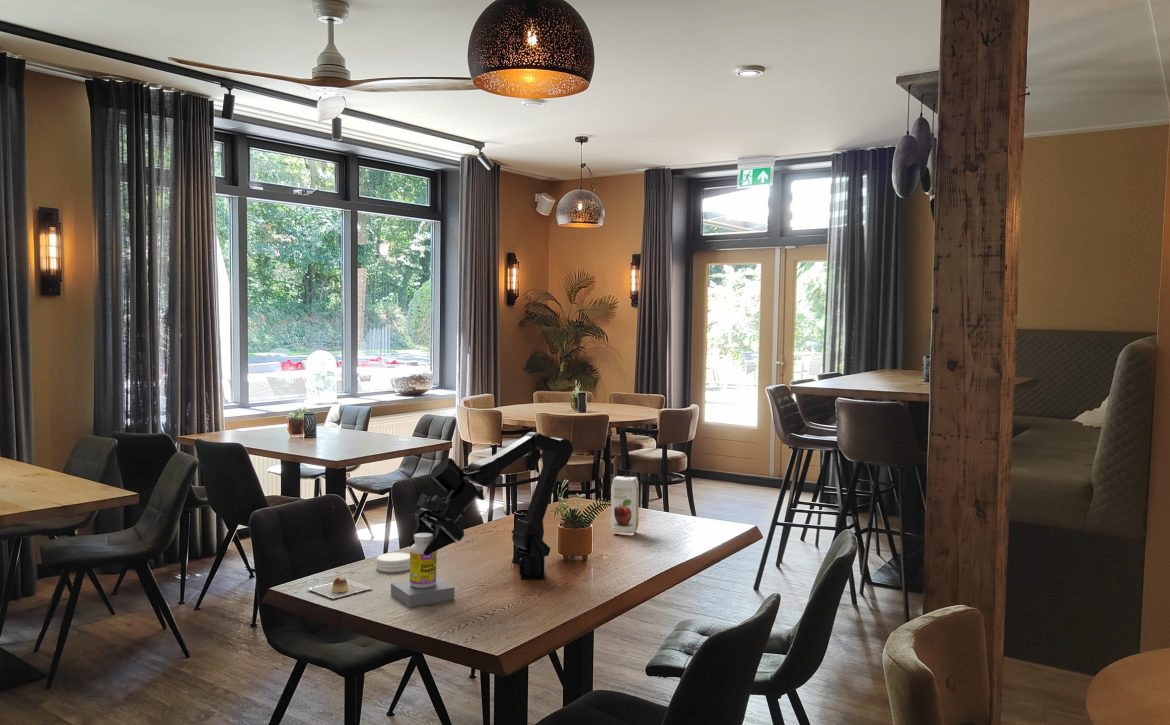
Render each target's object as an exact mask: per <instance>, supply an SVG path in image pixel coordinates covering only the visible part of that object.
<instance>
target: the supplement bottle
mask: <svg viewBox="0 0 1170 725" xmlns="http://www.w3.org/2000/svg"><path fill="white" fill-rule="evenodd" d="M433 534H434V533H433ZM433 534H431V533H417V534H415V535H414V541H415V544H413V545H412V546H411V547H410V548H409V554H410V569H409V580H410V585H411V586H412V587H415V588H428V587H432V586H434V585H435V584H436V577H437V552H438V550H437V551H435V552H433V553H431V554H429V555H427V556H426V555H425V554H424V553H423V552H424V551H425V549H426V547H427V546H428V544H429V543H430V541H431V540H432V538H433V537H434V535H433Z"/></svg>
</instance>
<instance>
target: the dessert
mask: <svg viewBox="0 0 1170 725" xmlns="http://www.w3.org/2000/svg"><path fill="white" fill-rule="evenodd" d="M349 585H350V586H354V587H356V586H357V588H359V587H360V589H361V590H358V591H353V592H351V593H347V594H343V595H339V596H335V597H332V596H331V595H330V596H329V595H327V594H324V593H322V592H318V590H315V589H319V590H321V589H320V588H323V589H326V588H325V587H327V588H330V587H329V586H331V590H330V592H331V591H332V592H331V593H333V592H343V593H346V592H345V591H347V592H349V591H350V587H349ZM362 588H364V589H362ZM372 589H373V587H372V586H369V585H366V584H363V583H360V582H357V581H354V580H351V579H348V578H345V576H344V575H343V574H340V576H339V575H337V576H336V577H335V578H334V580H333V582H329V583H323V584H320V585H316V586H312V587H309V588H307V590H308V591H311V592H312V593H315V592H316V593H315V594H318V595H321V596H323V595H324V597H326V596H327V597H326V598H329V599H331V598H332V599H331V600H336V599H335V598H337V599H340V598H339V597H341V598H343V596H344V597H347V595H348V596H351V594H352V595H355V594H354V593H356V594H359V593H358V592H360V593H363V592H366V590H367V591H370V590H372ZM314 590H315V591H314ZM348 590H349V591H348ZM362 591H363V592H362Z"/></svg>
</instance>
